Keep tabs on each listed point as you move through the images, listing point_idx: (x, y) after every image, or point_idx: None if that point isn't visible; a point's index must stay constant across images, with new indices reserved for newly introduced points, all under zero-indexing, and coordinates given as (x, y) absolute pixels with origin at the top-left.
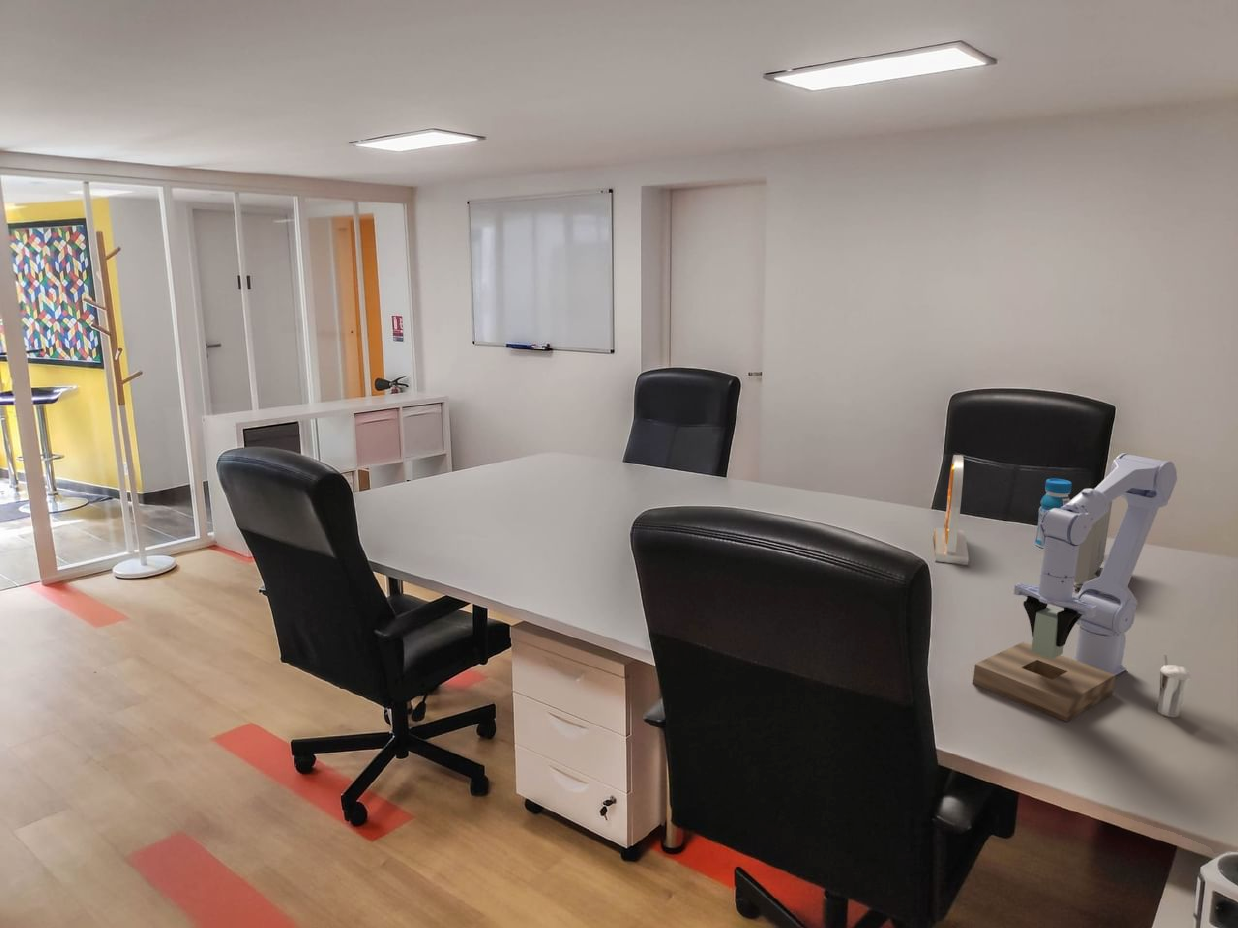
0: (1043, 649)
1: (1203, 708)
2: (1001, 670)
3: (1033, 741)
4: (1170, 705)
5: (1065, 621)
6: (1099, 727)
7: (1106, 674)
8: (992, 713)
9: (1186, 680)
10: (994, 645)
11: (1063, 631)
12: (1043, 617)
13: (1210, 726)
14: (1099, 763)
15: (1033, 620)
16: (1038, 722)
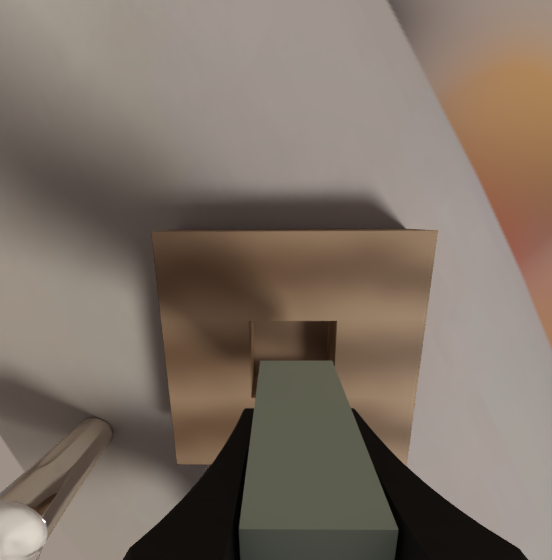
0: (292, 373)
1: (78, 493)
2: (364, 258)
3: (162, 64)
4: (66, 437)
5: (173, 528)
6: (126, 268)
7: (189, 451)
8: (296, 116)
9: None
10: (456, 444)
11: (213, 464)
12: (335, 505)
13: (32, 441)
14: (29, 103)
15: (384, 468)
16: (208, 173)
